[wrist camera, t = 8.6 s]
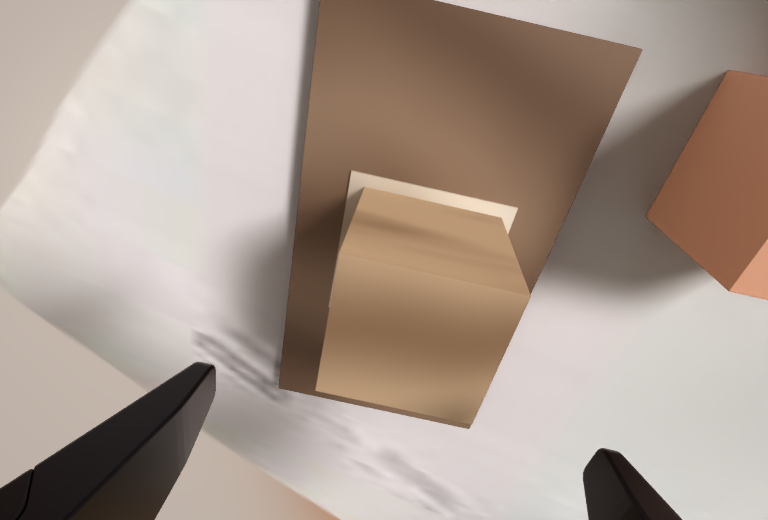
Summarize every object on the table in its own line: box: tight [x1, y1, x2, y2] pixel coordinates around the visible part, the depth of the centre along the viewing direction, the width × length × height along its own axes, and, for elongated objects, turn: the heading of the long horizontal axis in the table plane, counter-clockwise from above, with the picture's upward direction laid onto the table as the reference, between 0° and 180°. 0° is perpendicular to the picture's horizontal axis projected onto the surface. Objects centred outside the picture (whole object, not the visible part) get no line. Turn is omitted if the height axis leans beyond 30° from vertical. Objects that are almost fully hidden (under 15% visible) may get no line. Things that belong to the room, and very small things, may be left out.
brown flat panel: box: [279, 0, 642, 429], centre depth 17 cm, size 17×10×1 cm, turn 169°
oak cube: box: [315, 187, 531, 424], centre depth 14 cm, size 5×5×5 cm
